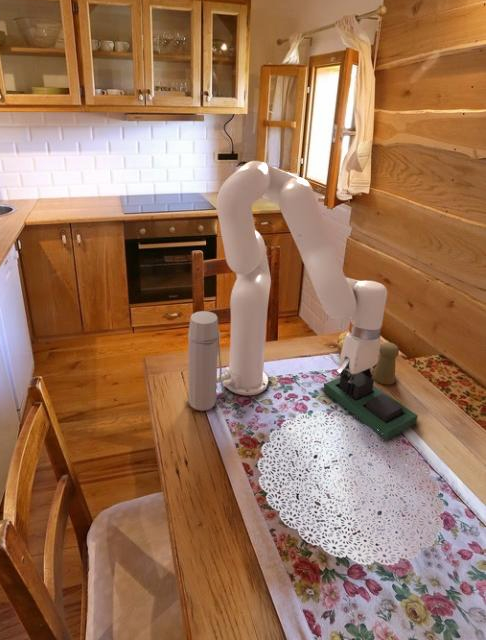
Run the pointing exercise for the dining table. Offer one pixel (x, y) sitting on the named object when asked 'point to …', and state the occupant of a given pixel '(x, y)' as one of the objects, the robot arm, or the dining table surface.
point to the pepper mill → (386, 363)
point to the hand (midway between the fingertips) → (355, 388)
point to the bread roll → (341, 341)
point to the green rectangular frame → (366, 416)
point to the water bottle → (203, 360)
